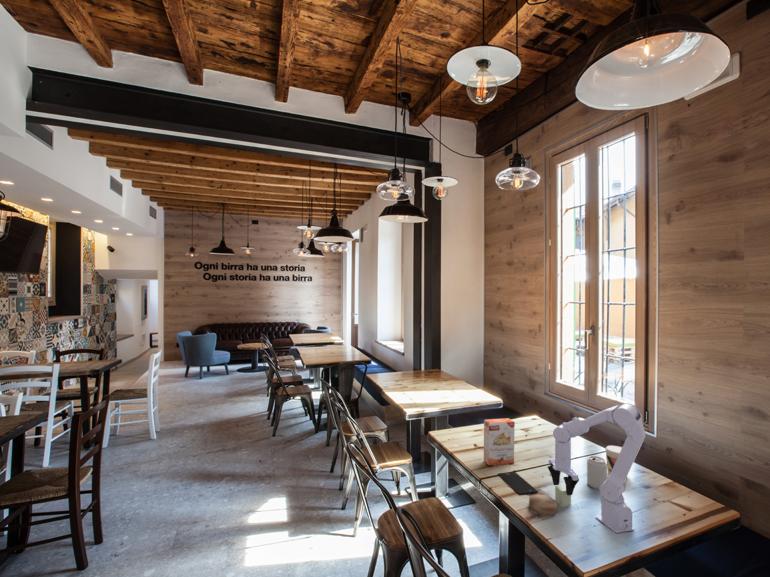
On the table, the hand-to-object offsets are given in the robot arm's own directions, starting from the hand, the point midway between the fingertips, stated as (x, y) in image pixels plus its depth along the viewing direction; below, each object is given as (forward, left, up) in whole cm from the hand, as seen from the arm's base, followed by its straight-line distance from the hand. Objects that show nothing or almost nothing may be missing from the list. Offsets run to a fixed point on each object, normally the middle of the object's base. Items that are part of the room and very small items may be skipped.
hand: (562, 489), depth 147 cm
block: (0, 0, -5) cm, 5 cm away
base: (-1, +10, -5) cm, 11 cm away
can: (+8, -24, -6) cm, 26 cm away
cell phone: (+18, +9, -6) cm, 21 cm away
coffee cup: (+14, -41, -6) cm, 44 cm away
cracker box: (+38, +6, -6) cm, 39 cm away
